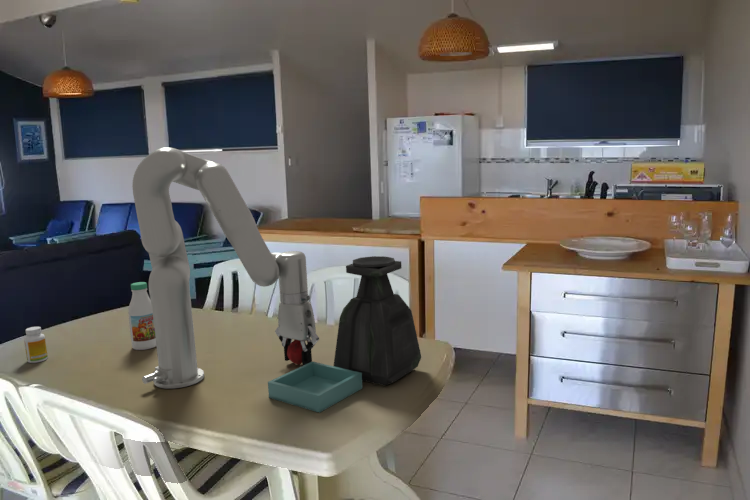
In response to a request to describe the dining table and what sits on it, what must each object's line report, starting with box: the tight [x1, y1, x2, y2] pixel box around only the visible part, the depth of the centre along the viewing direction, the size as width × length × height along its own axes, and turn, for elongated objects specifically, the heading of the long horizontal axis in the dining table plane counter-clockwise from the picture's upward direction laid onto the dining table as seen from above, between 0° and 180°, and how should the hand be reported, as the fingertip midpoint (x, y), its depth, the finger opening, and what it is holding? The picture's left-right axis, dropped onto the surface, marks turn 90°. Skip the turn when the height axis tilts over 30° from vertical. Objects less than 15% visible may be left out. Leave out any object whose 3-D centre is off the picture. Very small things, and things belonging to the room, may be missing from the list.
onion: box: [287, 339, 303, 366], centre depth 168 cm, size 6×6×8 cm
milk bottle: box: [128, 281, 157, 351], centre depth 189 cm, size 8×8×20 cm
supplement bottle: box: [23, 326, 49, 364], centre depth 181 cm, size 5×5×10 cm
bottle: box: [333, 255, 422, 387], centre depth 158 cm, size 18×16×30 cm
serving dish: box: [267, 360, 363, 413], centre depth 149 cm, size 16×16×4 cm
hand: (298, 360), depth 169 cm, fingers closed on onion, 5 cm apart
